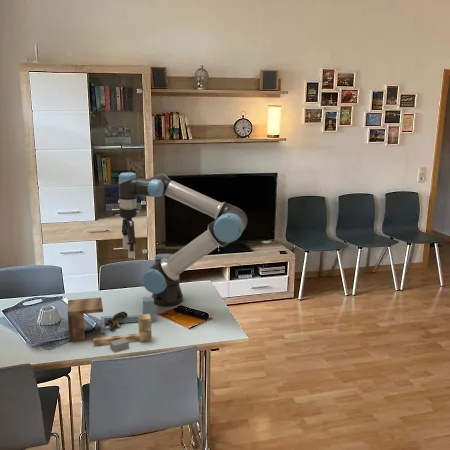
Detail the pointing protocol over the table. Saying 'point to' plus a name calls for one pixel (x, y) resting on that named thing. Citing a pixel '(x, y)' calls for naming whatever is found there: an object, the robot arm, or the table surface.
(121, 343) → the grey eraser block
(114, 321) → the eagle figurine
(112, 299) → the table surface
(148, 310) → the crook
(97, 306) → the wooden l bracket
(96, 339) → the plain l-shaped wooden block
